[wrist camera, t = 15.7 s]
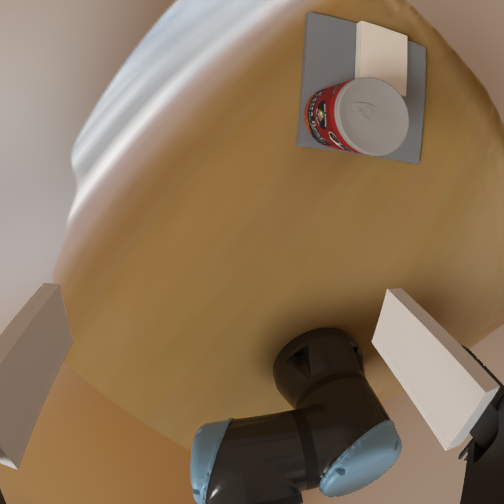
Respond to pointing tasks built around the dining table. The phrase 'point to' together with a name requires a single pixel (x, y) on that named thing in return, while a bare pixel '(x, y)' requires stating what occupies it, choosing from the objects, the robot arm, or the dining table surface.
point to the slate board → (343, 69)
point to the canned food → (358, 117)
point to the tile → (381, 55)
